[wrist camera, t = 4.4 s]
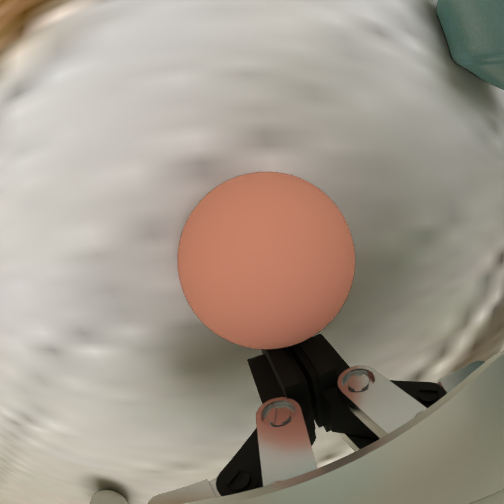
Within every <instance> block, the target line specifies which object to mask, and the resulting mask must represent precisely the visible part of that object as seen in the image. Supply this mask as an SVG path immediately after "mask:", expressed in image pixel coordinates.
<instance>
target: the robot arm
mask: <svg viewBox="0 0 504 504" xmlns="http://www.w3.org/2000/svg"><path fill="white" fill-rule="evenodd" d="M261 350H262V353H263V355H260V356H257V357H254V358H251V359H248V360H247V361H248V364H249V366H250V369H251V372H252V375H253V378H254V381H255V384H256V387H257V389H258V392H259V395H260V398H261V401H262V403H263V404H262V405H261V406H260V407H259V409H258V411H257V413H256V424H257V428H256V429H255V431H254V432H253V433H252V434H251V436H250V437H249V438H248V440H247V441H246V442H245V443H244V445H243V446H242V447H241V449H240V450H239V451H238V452H237V453H236V455H235V456H234V457H233V458H232V460H231V461H230V462H229V463H228V464H227V465H226V467H225V468H224V469H223V470H222V471H221V472H220V474H219V476H218V477H217V478H216V479H213V480H210V481H208V480H207V479H206V480H203V481H201V482H198V483H195V484H192V485H189V486H186V487H183V488H180V489H177V490H173V491H170V492H166V493H163V494H159V495H157V496H154V497H153V498H152V499H151V500H150V501H149V502H148V504H504V351H502V352H500V353H498V354H496V355H495V356H493V357H492V358H490V359H489V360H487V361H486V362H484V361H475V362H472V363H471V364H469V365H467V366H465V367H463V368H461V369H459V370H457V371H455V372H453V373H451V374H449V375H447V376H445V377H443V378H441V379H439V380H438V383H432V382H411V381H393V380H388V379H387V378H385V377H384V376H383V375H381V374H380V373H379V372H377V371H376V370H375V369H373V368H371V367H368V366H354V367H351V368H350V367H349V366H348V365H347V364H346V362H345V361H344V360H343V359H342V358H341V356H340V355H339V354H338V353H337V352H336V351H335V349H334V348H333V347H332V346H331V345H330V344H329V342H328V341H327V340H326V339H325V338H324V336H323V335H321V334H318V335H316V336H313V337H311V338H309V339H307V340H305V341H303V342H300V343H298V344H295V345H292V346H288V347H283V348H278V349H261ZM314 420H315V422H316V424H317V425H318V427H322V426H324V428H325V430H326V432H328V431H330V430H332V432H337V433H340V435H341V437H342V438H343V439H344V440H345V441H346V443H347V444H348V445H349V446H350V447H351V448H352V449H353V450H354V451H355V452H354V453H352V454H350V455H348V456H346V457H343V458H341V459H339V460H337V461H335V462H332V463H330V464H328V465H325V466H323V467H320V468H318V469H317V465H316V462H315V458H314V454H313V451H312V447H311V446H312V445H313V443H314V441H315V439H316V435H315V423H314Z"/></svg>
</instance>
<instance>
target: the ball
mask: <svg viewBox="0 0 504 504" xmlns="http://www.w3.org/2000/svg"><path fill="white" fill-rule="evenodd" d="M354 271H355V250H354V244H353V240H352V236H351V233H350V230H349V227H348V225H347V222H346V220H345V219H344V217H343V215H342V213H341V212H340V210H339V209H338V207H337V206H336V205H335V204H334V202H333V201H332V200H331V199H330V198H329V197H328V196H327V195H326V194H325V193H323V192H322V191H321V190H320V189H318V188H317V187H315V186H314V185H312V184H311V183H309V182H307V181H305V180H303V179H301V178H298V177H295V176H292V175H288V174H284V173H278V172H256V173H249V174H245V175H241V176H238V177H235V178H233V179H230V180H228V181H226V182H224V183H222V184H221V185H219V186H217V187H216V188H214V189H213V190H212V191H211V192H209V193H208V194H207V195H206V196H205V197H204V198H203V199H202V200H201V201H200V202H199V203H198V205H197V206H196V207H195V209H194V210H193V211H192V213H191V215H190V216H189V218H188V220H187V222H186V224H185V226H184V229H183V231H182V234H181V238H180V242H179V248H178V272H179V279H180V282H181V286H182V289H183V292H184V295H185V297H186V299H187V301H188V303H189V305H190V307H191V308H192V310H193V311H194V313H195V314H196V315H197V317H198V318H199V319H200V320H201V321H202V322H203V323H204V324H205V325H206V326H207V327H208V328H209V329H210V330H211V331H213V332H214V333H216V334H217V335H219V336H220V337H222V338H224V339H226V340H228V341H230V342H232V343H235V344H238V345H240V346H244V347H249V348H254V349H278V348H283V347H288V346H292V345H295V344H298V343H300V342H303V341H305V340H307V339H309V338H311V337H312V336H314V335H315V334H317V333H318V332H320V331H321V330H322V329H324V328H325V327H326V326H327V325H328V324H329V323H330V322H331V321H332V320H333V319H334V317H335V316H336V315H337V314H338V312H339V311H340V309H341V307H342V306H343V304H344V302H345V301H346V298H347V296H348V294H349V292H350V289H351V285H352V282H353V278H354Z"/></svg>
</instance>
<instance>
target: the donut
mask: <svg viewBox="0 0 504 504" xmlns="http://www.w3.org/2000/svg"><path fill="white" fill-rule="evenodd" d="M90 504H128V503H127V501H126V499H125V498H124V497H123V496H122V495H120V494H119V493H117V492H115V491H112V490H103V491H99V492H97V493H95V494H94V496H93V497H92V499H91V501H90Z"/></svg>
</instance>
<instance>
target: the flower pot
mask: <svg viewBox="0 0 504 504" xmlns="http://www.w3.org/2000/svg"><path fill="white" fill-rule="evenodd" d="M436 12H437V15H438V17H439V20H440V22H441V25H442V28H443V30H444V33H445V36H446V39H447V43H448V46H449V49H450V53H451V56H452V58H453V60H454V61H455V62H456V63H457V64H459V65H460V66H462V67H464V68H465V69H467V70H469V71H470V72H472V73H473V74H475V75H476V76H478V77H479V78H481V79H482V80H484V81H485V82H488V83H490V84H492V85H494V86H496V87H498V88H501V89H503V90H504V0H438V3H437V7H436Z"/></svg>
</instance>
